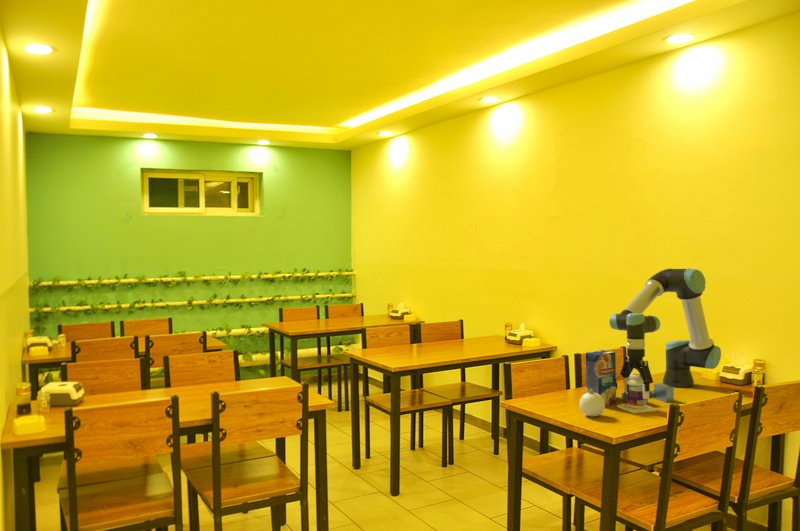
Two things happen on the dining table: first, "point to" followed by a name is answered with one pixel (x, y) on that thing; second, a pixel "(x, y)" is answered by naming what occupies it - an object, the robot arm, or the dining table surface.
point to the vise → (658, 393)
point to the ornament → (592, 404)
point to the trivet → (635, 410)
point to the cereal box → (601, 375)
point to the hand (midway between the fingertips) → (636, 395)
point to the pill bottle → (635, 392)
